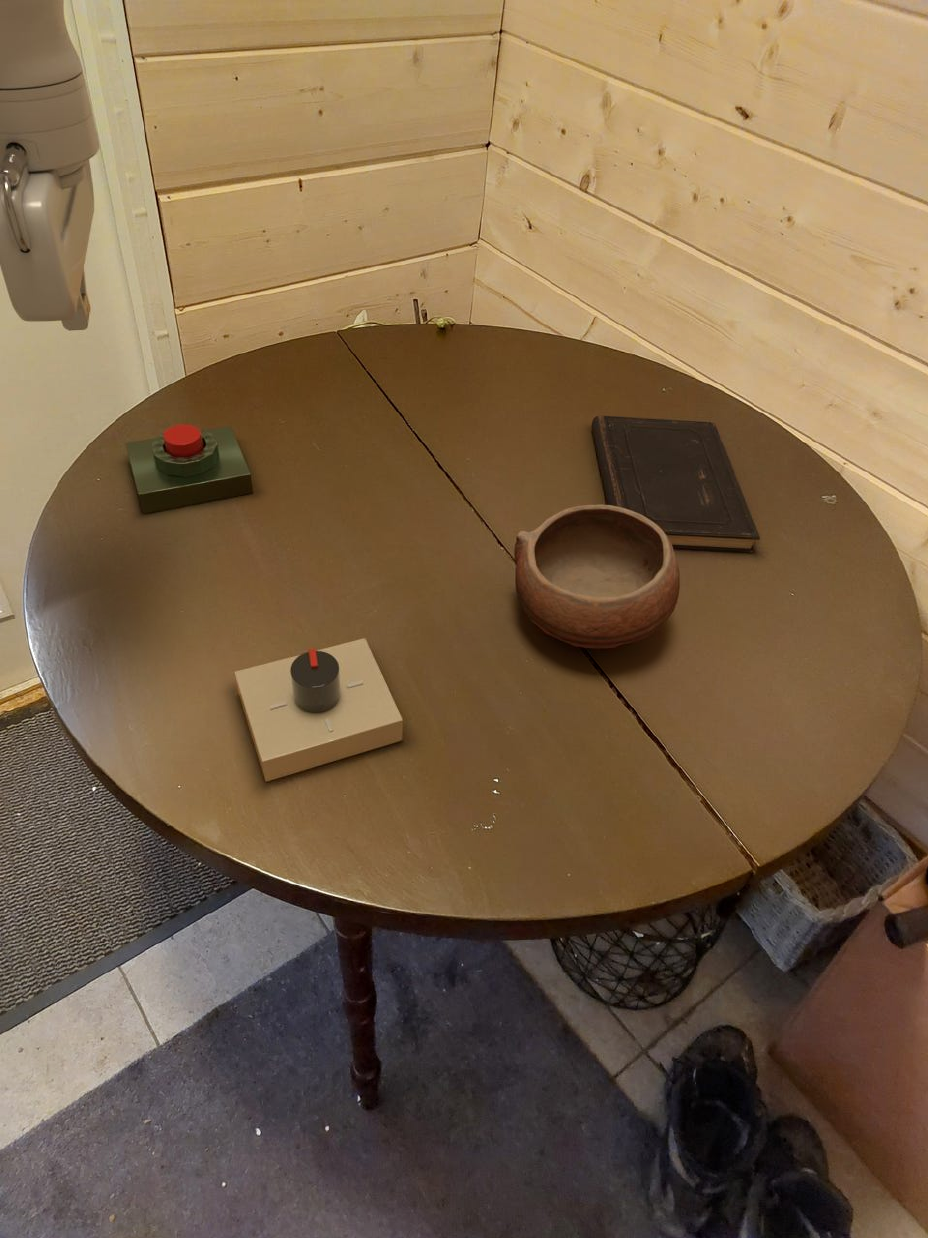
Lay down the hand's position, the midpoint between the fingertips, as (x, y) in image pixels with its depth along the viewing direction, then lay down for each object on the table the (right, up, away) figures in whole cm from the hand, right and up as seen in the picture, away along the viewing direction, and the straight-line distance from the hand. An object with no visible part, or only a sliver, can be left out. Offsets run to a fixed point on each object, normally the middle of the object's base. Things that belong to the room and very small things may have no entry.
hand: (78, 321), depth 64 cm
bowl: (+43, -23, +20) cm, 52 cm away
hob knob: (+17, -30, +7) cm, 35 cm away
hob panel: (+17, -32, +9) cm, 37 cm away
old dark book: (+55, -7, +36) cm, 66 cm away
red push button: (-1, -4, +28) cm, 28 cm away
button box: (-1, -7, +31) cm, 32 cm away
